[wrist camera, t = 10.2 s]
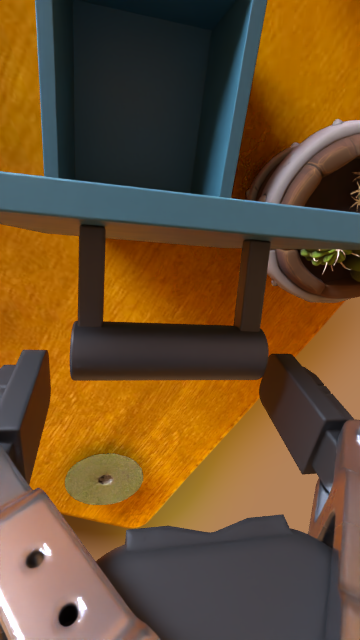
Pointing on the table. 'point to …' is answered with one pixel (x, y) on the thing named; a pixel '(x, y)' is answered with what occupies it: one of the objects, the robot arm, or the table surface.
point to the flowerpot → (315, 192)
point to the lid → (175, 228)
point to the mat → (104, 479)
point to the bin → (146, 90)
